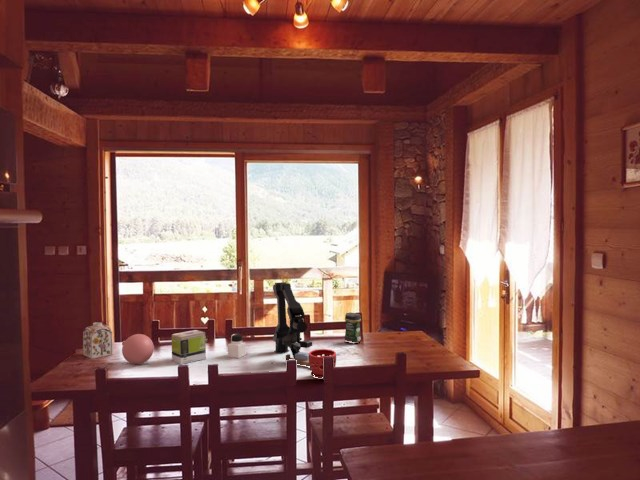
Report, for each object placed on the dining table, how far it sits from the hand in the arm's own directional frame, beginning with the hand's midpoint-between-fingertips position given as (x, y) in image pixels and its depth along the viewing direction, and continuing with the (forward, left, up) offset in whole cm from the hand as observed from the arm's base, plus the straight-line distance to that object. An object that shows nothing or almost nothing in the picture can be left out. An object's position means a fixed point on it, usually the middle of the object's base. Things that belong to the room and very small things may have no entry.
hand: (294, 358), depth 255 cm
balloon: (-68, -48, -2) cm, 83 cm away
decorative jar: (-98, -50, -2) cm, 110 cm away
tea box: (-49, -29, -2) cm, 57 cm away
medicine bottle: (-33, -9, -2) cm, 34 cm away
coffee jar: (+6, +53, -2) cm, 53 cm away
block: (+6, 0, -2) cm, 6 cm away
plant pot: (+26, -14, -2) cm, 30 cm away
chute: (+7, 0, -2) cm, 7 cm away
